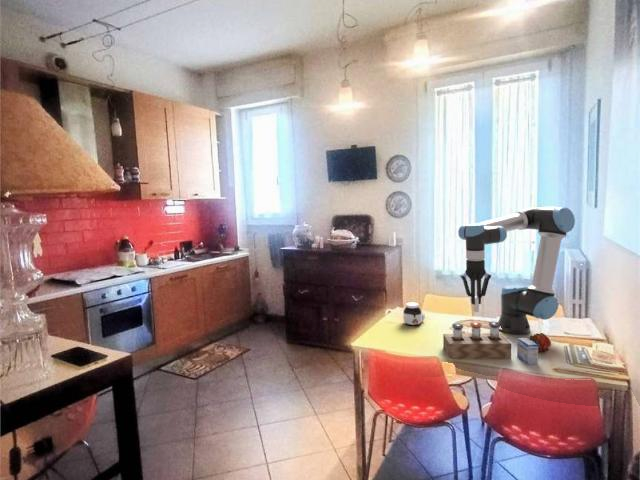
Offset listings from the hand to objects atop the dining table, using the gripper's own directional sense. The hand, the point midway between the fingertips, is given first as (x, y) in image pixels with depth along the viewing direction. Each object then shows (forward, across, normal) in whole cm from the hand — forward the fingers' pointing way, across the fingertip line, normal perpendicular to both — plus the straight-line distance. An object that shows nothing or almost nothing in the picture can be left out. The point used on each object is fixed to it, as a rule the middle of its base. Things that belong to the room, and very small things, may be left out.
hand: (476, 311), depth 171 cm
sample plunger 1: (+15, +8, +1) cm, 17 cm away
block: (+20, +1, 0) cm, 20 cm away
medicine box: (+20, -19, +8) cm, 28 cm away
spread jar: (+20, +22, -40) cm, 50 cm away
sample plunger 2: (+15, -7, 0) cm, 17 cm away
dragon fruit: (+21, -28, -4) cm, 35 cm away
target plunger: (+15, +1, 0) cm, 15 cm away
